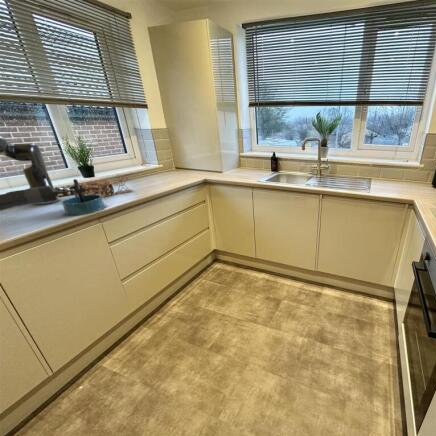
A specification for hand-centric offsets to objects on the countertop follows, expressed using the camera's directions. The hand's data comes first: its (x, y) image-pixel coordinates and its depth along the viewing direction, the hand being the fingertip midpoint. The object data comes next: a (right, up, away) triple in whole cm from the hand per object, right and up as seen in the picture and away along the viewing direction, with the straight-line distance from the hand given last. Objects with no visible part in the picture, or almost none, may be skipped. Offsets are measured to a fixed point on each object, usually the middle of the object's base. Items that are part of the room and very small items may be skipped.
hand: (83, 188), depth 124 cm
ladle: (-1, -11, +3) cm, 11 cm away
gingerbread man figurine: (-3, +1, +34) cm, 34 cm away
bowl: (-1, -11, +3) cm, 12 cm away
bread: (-14, -3, +25) cm, 29 cm away
